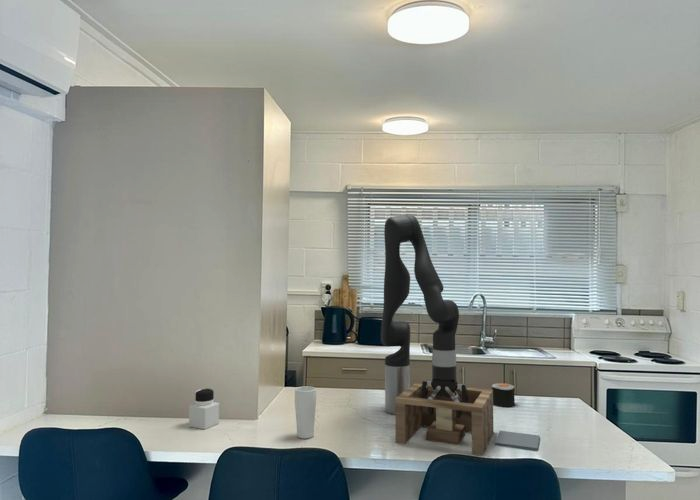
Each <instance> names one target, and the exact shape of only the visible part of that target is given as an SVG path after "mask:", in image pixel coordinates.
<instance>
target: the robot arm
mask: <svg viewBox="0 0 700 500" xmlns="http://www.w3.org/2000/svg"><path fill="white" fill-rule="evenodd" d="M383 230H384V231H383V232H384V252H385V253H384V255H385V256H384V258H385V259H384V260H385V261H384V278H383V279H384V280H383V309H382V319H381V326H380V328H381V329H380V341H381V343H382V345H383V346H385V347H399V349H398V350H397V351H395V352H393V353H391V354H389V355H387V356H385V358H384V410H385V411H384V412H386V413H388V414H391V415H395V398H396V397H397V396H399V395H400V394H401V393H403V392H404V391H405V390H407V389H408V388H409V387H411V379H410V378H411V377H410V375H411V374H410V373H411V372H410V368H411V366H410V358H411V357H410V353H411V352H410V349H411V326H410V324H409V322H407V321H404V320H403V321H401V320H400V321H396V320H394V321H392V320H393V319H394V316H395V314H396V312H397V311H398V310H399V309H400V307H401V306H402V305H403V304H404V302H405V301H406V300H407V298H408V296H409V295H410V291H411V290H410V289H411V287H410V286H411V275H410V272H409V269H408V268H407V266H406V265H405V263H404V262H403V260H402V258H401V256H400V255H401V254H400V253H401V252H400V251H401V248H400V246H401V244H402V243H403V244H404V243H407V242H408V243H409V242H410V243H411V245H412V247H413V250H414V267H413V269H414V270H413V272H414V276H415V277H414V278H415V281H416V283H417V284H418V286H419V288H420V291H421V292H422V295H423V300H424V304H425V310H426V313H427V314H428V315H427V316H429V318H430V319H431V320H432V321H433V322H434V323H436V324H438V326H437V329H436V330H435V331H434V332H433V334H432V356H431V368H432V369H431V370H432V371H431V373H432V374H431V376H432V377H431V379H432V380H431V381H429V380H428V379H424V380H423V381H422V398H424V399H434V398H435V396H436V395H438V396H445V397H450V396H451V398H452V399H453V400H454V401H455V402H461V403H467V402H468V392H467V388H468V384H467V383H466V382H465V383H458V381H457V353H456V352H457V351H456V333H457V329H458V325H459V319H460V311H459V307H458V305H457V303H456V302H455V301H453V300H450V299H445V300H444V299H443V296H442V293H443V291H444V285H443V282H442V281H441V280H442V279H440V276H439V274H438V272H437V270H436V269H435V266H434V265H433V261H432V259H431V255H430V253H429V250H428V247H427V243H426V240H425V236H424V233H423V231H422V228H421V224H420V222H419V220H418V218H417V217H416V216H415V215H414V214H410V213H408V214H400V215H395V216H391V217H388V218H387V219H386V220H385V223H384V229H383ZM430 385H431V386H432V388H433V389H434V392H433V393H432V394H431V396H430V397H429V396H427V394H428V388H429V387H430ZM457 388H459V389H460V391H462V400H461V399H460V398H459V396H458V394H457V393H456V389H457ZM428 413H430V415H432V414H433V413H434V409H433V407H428ZM461 415H462V411H461V410H456V417H457V418H459V417H460V416H461Z"/></svg>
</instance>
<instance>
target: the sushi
mask: <svg viewBox="0 0 700 500" xmlns="http://www.w3.org/2000/svg"><path fill="white" fill-rule="evenodd" d="M491 390H493V407H494V406H495V407H500V408H506V409H507V408H509V409H510V408H514V407H515V406H516V405H515V404H516V402H515V399H516V398H515V386H514V385H512V384H510V383H504V382H500V383H493V384H492V385H491Z"/></svg>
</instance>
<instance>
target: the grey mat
mask: <svg viewBox="0 0 700 500" xmlns="http://www.w3.org/2000/svg"><path fill="white" fill-rule="evenodd" d="M539 444H540V435H537V434H530V433H523V432H516V431H514V432H513V431H506V430H499V431H498V433H497V437H496V439H495V441H494V446H497V447H498V446H499V447H506V448H513V449H519V450H527V451H528V450H529V451H534V452H537V451H538V448H539Z"/></svg>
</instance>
